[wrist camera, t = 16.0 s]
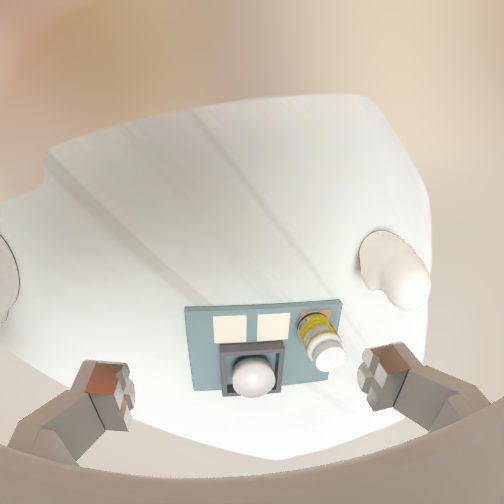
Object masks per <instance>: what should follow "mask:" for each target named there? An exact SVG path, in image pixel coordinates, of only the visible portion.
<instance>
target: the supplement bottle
mask: <svg viewBox="0 0 504 504" xmlns="http://www.w3.org/2000/svg"><path fill="white" fill-rule="evenodd" d="M296 330H297V333H298V335H299V337H300V340H301V342H302V344H303V346H304V348H305V350H306V353H307V355H308V357H309V359H310V360H311V361H313V362H314V363H315V365H316V367H317V369H319V370H320V371H323V372H329V371H333V370H335V369H337V368H339V367H340V366H341V365H342V364H343V362H344V361H345V358H346V353H345V351H344V349H343V347H342V341H341V339H340V337H339V336H338V334H337V332H336V331H335V329H334V328H333V326H332V325H331V323H330V322H329V320H328V319H327V317H326V316H325V315H324V314H323V313H322V312H319V311H311V312H308V313H306V314H304V315H303V316H302V317H301V318H300V319H299V320H298V322H297V326H296Z"/></svg>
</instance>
